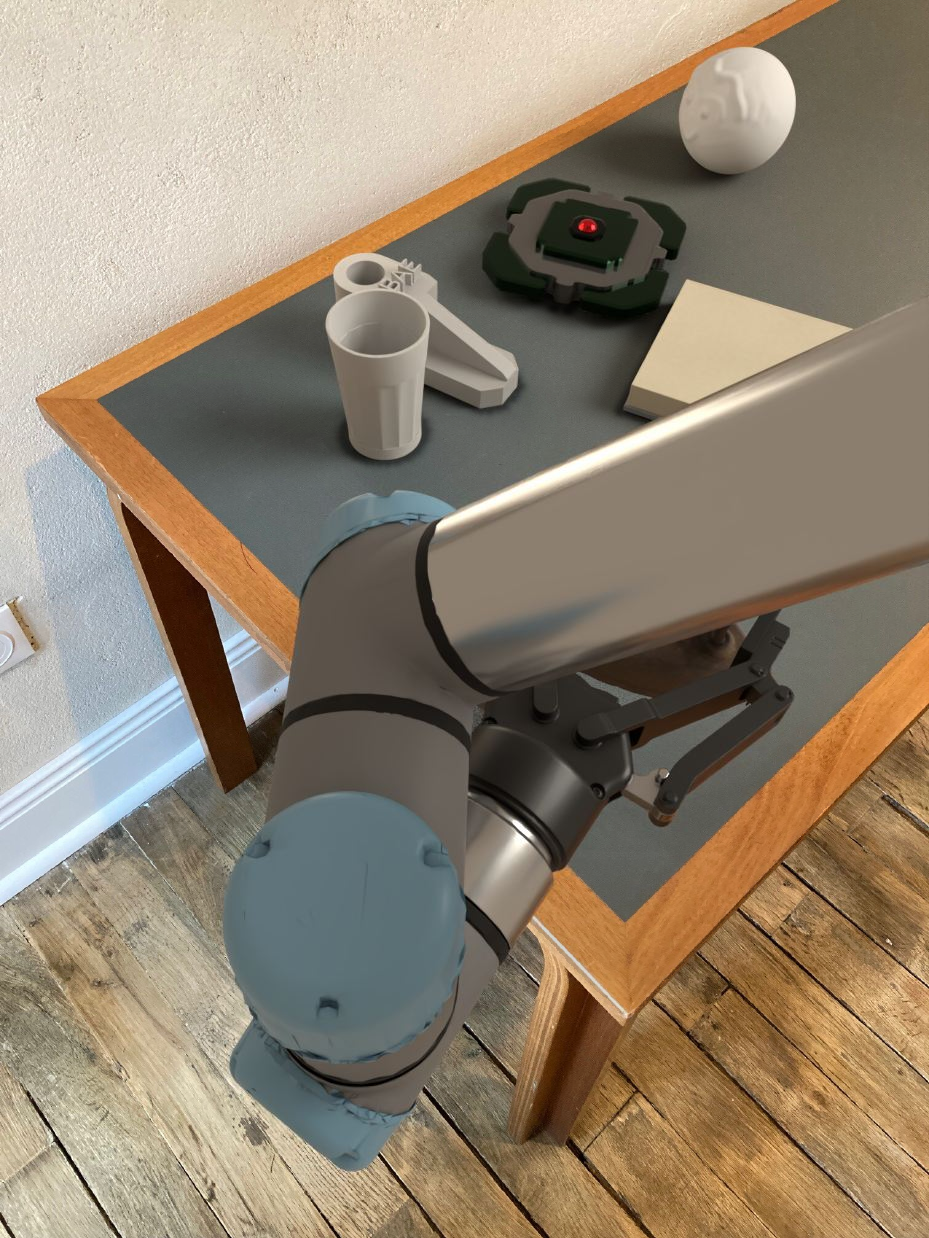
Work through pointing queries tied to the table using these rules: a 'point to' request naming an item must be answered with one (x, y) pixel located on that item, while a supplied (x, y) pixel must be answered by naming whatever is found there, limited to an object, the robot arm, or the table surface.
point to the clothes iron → (673, 663)
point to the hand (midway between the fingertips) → (700, 537)
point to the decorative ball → (737, 110)
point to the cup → (380, 368)
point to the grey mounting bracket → (437, 332)
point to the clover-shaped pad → (585, 248)
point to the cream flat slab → (718, 347)
